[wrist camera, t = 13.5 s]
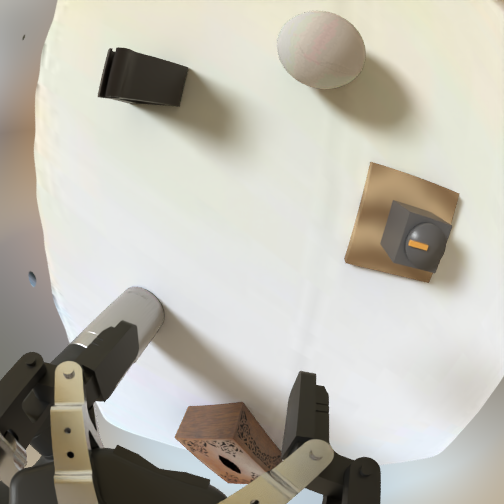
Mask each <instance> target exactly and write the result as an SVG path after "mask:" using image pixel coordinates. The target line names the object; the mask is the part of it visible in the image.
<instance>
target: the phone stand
mask: <svg viewBox="0 0 504 504" xmlns="http://www.w3.org/2000/svg"><path fill="white" fill-rule="evenodd" d="M187 70H188V67H185V66H182V65H179V64H176V63H172V62H169V61H166V60H162V59H159V58H155V57H152V56H148V55H144V54H140V53H137V52H134V51H132V50H130V49H127V48H116V52H113V51H112V49H111V48H110V49H109V50H108V54H107V57H106V61H105V65H104V69H103V74H102V78H101V82H100V87H99V92H98V97H101V98H109V99H113V100H118V101H122V102H126V103H136V104H155V105H168V106H179V105H180V101H181V96H182V92H183V87H184V83H185V79H186V74H187Z"/></svg>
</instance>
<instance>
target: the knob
mask: <svg viewBox="0 0 504 504" xmlns="http://www.w3.org/2000/svg"><path fill="white" fill-rule="evenodd" d="M451 228H452V225H450V224H449V223H447V222H446V221H444V220H443V219H441V218H440V217H438V216H436V215H435V214H433V213H432V212H429V211H426V210H423V209H420V208H417V207H414V206H411V205H408V204H405V203H402V202H398V201H395V200H393V201H392V205H391V209H390V212H389V216H388V219H387V223H386V226H385V229H384V233H383V236H382V239H381V242H380V244H381V246H382V247H383V248H384V250H385V251H386V253H387V254H388V256H389V257H390V259H391V260H392V262H393V263H396V264H400V265H404V266H408V267H412V268H416V269H420V270H424V271H428V272H432V273H435V272H436V269H437V267H438V264H439V262H440V259H441V258H442V256H443V254H444V251H445V247H446V243H447V240H448V237H449V234H450V231H451Z"/></svg>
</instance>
